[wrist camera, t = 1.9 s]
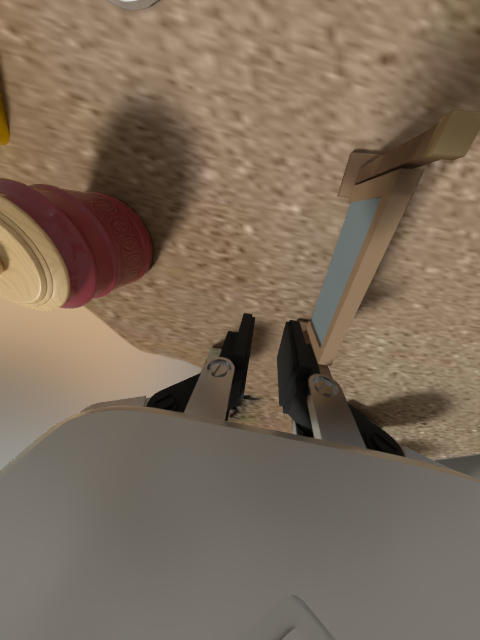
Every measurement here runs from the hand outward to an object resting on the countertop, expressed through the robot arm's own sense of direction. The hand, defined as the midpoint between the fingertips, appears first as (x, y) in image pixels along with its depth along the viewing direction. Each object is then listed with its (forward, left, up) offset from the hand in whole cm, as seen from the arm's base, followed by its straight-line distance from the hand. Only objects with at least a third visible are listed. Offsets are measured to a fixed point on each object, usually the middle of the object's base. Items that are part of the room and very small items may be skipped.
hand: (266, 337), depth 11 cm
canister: (-1, -25, -19) cm, 32 cm away
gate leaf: (-1, +9, -18) cm, 20 cm away
